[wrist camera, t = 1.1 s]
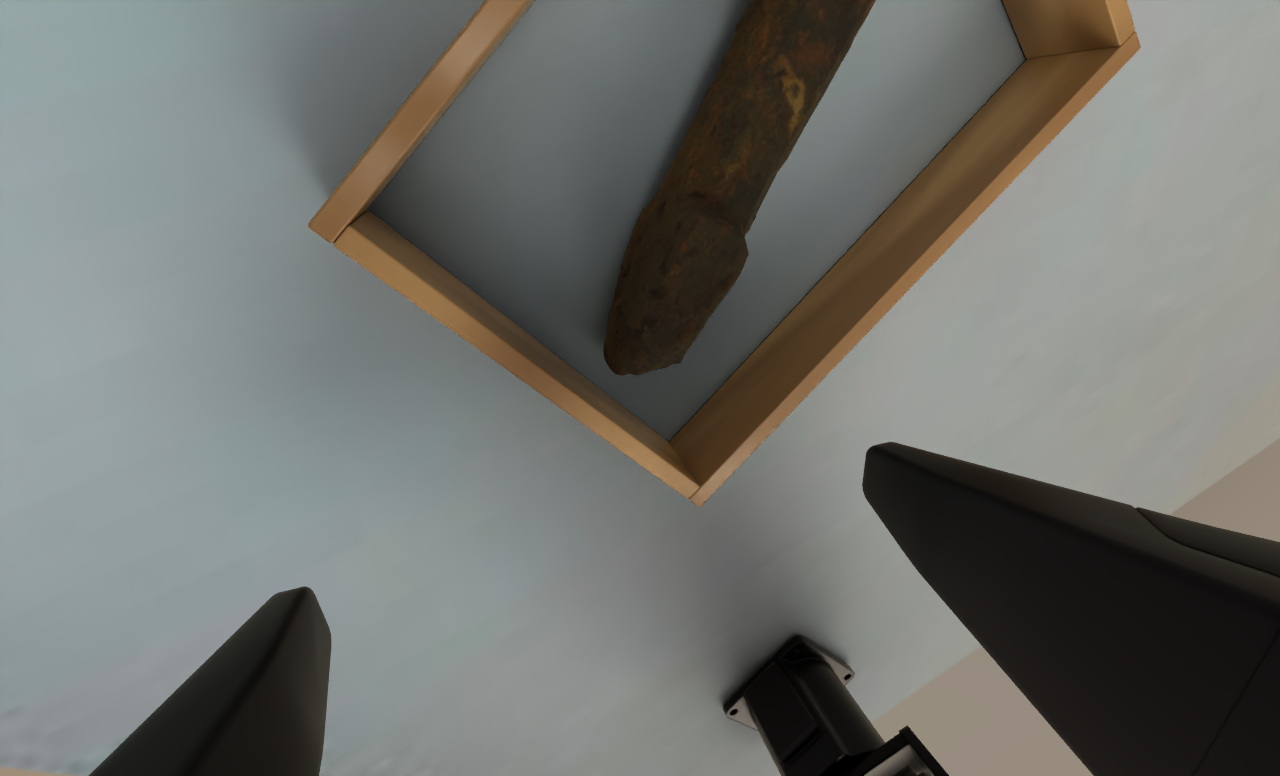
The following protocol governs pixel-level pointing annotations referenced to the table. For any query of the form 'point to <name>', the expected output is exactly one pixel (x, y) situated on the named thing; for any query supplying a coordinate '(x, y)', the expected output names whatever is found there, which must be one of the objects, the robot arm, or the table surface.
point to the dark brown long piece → (724, 177)
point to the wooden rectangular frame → (829, 314)
